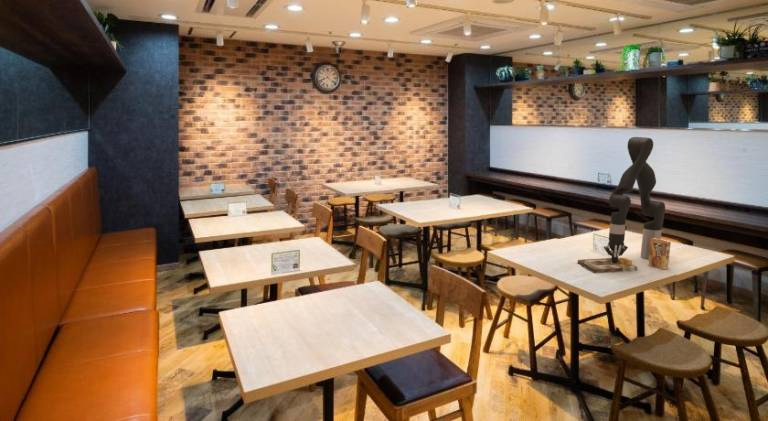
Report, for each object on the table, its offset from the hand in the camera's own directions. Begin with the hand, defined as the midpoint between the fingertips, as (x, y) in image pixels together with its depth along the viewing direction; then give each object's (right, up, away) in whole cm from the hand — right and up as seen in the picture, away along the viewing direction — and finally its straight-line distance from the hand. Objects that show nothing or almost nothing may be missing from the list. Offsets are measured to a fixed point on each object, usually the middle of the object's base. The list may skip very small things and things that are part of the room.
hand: (614, 263), depth 259 cm
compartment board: (-3, -2, +4) cm, 5 cm away
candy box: (+25, -3, +2) cm, 25 cm away
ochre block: (+5, -1, +1) cm, 5 cm away
